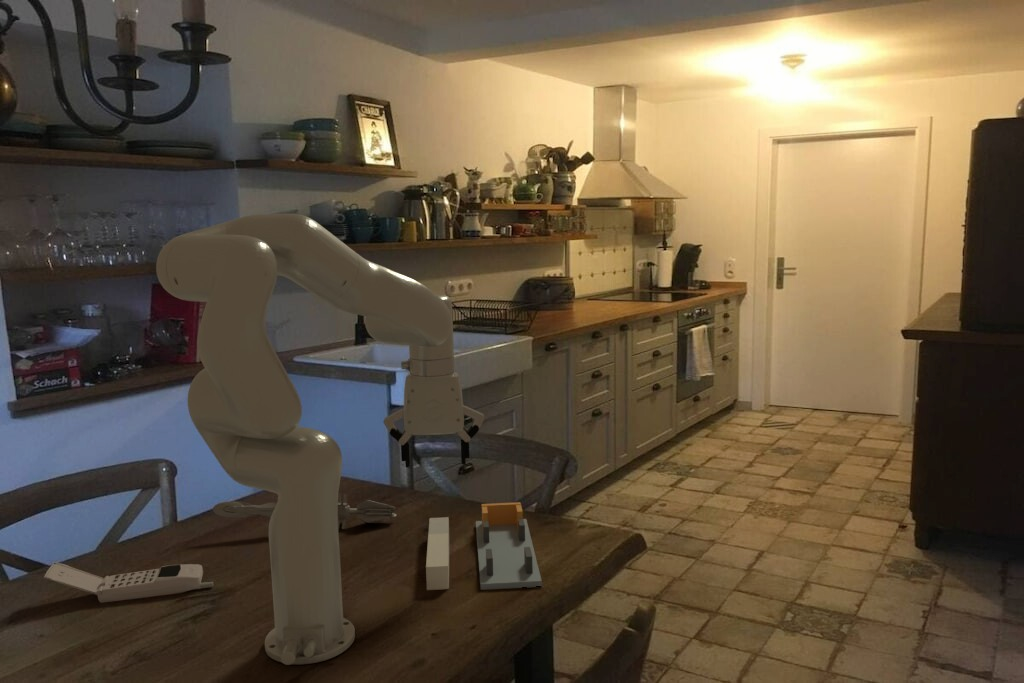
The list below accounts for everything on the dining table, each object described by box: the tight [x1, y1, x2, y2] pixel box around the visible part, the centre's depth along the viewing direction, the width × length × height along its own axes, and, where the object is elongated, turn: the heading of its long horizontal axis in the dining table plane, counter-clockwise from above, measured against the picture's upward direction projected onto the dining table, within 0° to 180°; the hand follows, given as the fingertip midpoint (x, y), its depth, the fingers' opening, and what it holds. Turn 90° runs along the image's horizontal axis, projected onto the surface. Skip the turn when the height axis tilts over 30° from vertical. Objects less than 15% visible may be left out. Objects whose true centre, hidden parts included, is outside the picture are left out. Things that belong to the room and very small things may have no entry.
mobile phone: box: [43, 561, 214, 604], centre depth 134 cm, size 6×6×25 cm
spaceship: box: [212, 493, 398, 530], centre depth 160 cm, size 8×35×8 cm
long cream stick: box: [425, 516, 450, 591], centre depth 144 cm, size 22×4×4 cm, turn 4°
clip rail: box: [475, 501, 543, 591], centre depth 146 cm, size 28×10×5 cm, turn 4°
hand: (435, 463), depth 141 cm, fingers open, 9 cm apart
